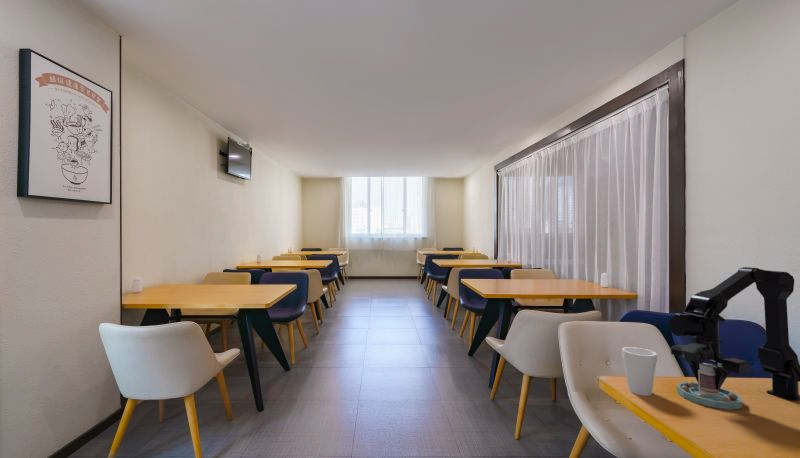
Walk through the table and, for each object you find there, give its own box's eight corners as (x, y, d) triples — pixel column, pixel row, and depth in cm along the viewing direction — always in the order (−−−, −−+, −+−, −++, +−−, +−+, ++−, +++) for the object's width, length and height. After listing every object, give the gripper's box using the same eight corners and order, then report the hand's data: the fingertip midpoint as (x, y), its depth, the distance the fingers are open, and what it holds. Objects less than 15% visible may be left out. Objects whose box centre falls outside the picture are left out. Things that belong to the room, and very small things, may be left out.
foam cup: (651, 388, 116) (651, 348, 116) (662, 399, 107) (661, 357, 108) (619, 384, 119) (618, 345, 119) (627, 395, 110) (626, 354, 111)
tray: (698, 385, 118) (697, 377, 118) (754, 405, 104) (754, 396, 104) (666, 391, 113) (666, 382, 113) (720, 413, 99) (720, 403, 99)
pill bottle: (722, 395, 106) (721, 368, 106) (704, 394, 107) (704, 367, 107) (712, 389, 110) (711, 362, 111) (694, 388, 111) (694, 361, 112)
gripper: (658, 329, 116) (659, 377, 115) (725, 346, 98) (727, 402, 97) (681, 327, 119) (683, 373, 118) (750, 342, 101) (752, 396, 101)
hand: (708, 385), depth 109 cm, fingers closed on pill bottle, 5 cm apart
